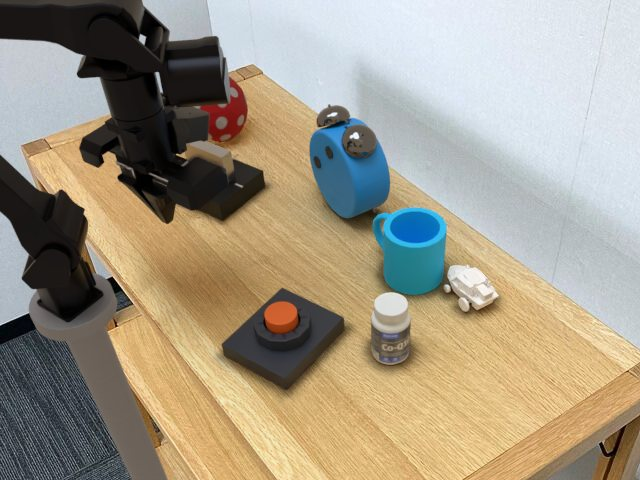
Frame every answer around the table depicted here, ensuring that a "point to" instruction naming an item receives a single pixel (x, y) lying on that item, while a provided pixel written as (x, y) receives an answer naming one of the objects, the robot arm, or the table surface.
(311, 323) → the button box
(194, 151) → the tap handle
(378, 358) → the pill bottle
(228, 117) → the decorative mushroom
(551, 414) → the table surface
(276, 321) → the button
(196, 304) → the table surface
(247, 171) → the base
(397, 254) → the mug
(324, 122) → the alarm clock
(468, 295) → the toy car
